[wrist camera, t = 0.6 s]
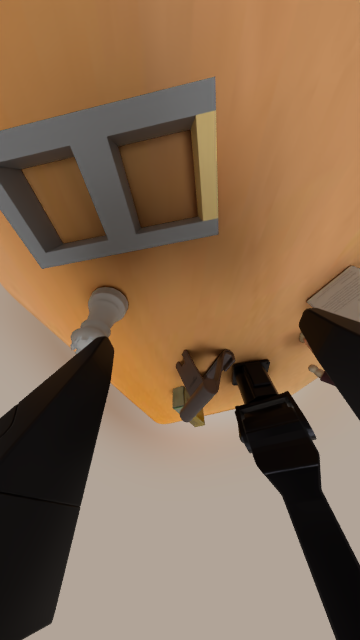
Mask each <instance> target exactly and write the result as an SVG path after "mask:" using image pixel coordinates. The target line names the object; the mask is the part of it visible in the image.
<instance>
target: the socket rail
mask: <svg viewBox="0 0 360 640" xmlns="http://www.w3.org/2000/svg"><path fill="white" fill-rule="evenodd" d="M190 129H191V139H192V151H193V163H194V174H195V186H196V198H197V209H198V217H193V218H188V219H183V220H178V221H173V222H168V223H163V224H159V225H154V226H149V227H144V228H141V227H140V223H139V220H138V216H137V213H136V209H135V205H134V202H133V198H132V195H131V191H130V188H129V184H128V180H127V177H126V173H125V170H124V166H123V162H122V159H121V155H120V152H119V148H118V146H122V145H126V144H131V143H135V142H139V141H143V140H148V139H152V138H156V137H160V136H165V135H169V134H173V133H177V132H182V131H186V130H190ZM71 157H75V159H76V162H77V164H78V167H79V169H80V171H81V174H82V176H83V179H84V181H85V184H86V186H87V189H88V191H89V194H90V196H91V199H92V201H93V204H94V206H95V209H96V211H97V214H98V216H99V218H100V221H101V223H102V226H103V228H104V231H105V233H106V235H104V236H99V237H95V238H90V239H85V240H80V241H75V242H70V243H65V244H63V243H62V241H61V239H60V238H59V236H58V234H57V232H56V231H55V229H54V227H53V225H52V224H51V222H50V220H49V218H48V217H47V215H46V213H45V211H44V210H43V208H42V206H41V204H40V203H39V201H38V199H37V197H36V195H35V194H34V192H33V190H32V188H31V187H30V185H29V183H28V181H27V180H26V178H25V176H24V174H23V173H22V171H21V169H24V168H29V167H33V166H37V165H41V164H46V163H50V162H54V161H58V160H63V159H67V158H71ZM0 210H1V211H2V213H3V214H4V216H5V217H6V219H7V220H8V221H9V223H10V224H11V226H12V227H13V228H14V230H15V231H16V233H17V234H18V236H19V237H20V238H21V240H22V241H23V243H24V244H25V246H26V247H27V248H28V250H29V251H30V253H31V254H32V255H33V257H34V258H35V260H36V261H37V263H38V264H39V265H40V267H41V268H42V269H44V268H49V267H54V266H59V265H64V264H69V263H75V262H80V261H85V260H90V259H95V258H100V257H105V256H110V255H116V254H121V253H126V252H131V251H136V250H141V249H146V248H152V247H157V246H162V245H167V244H172V243H177V242H182V241H187V240H193V239H198V238H203V237H208V236H213V235H218V187H217V140H216V92H215V77H212V78H208V79H204V80H200V81H196V82H192V83H188V84H184V85H180V86H176V87H172V88H168V89H164V90H160V91H156V92H152V93H148V94H144V95H140V96H136V97H132V98H128V99H124V100H120V101H117V102H113V103H109V104H105V105H101V106H97V107H93V108H89V109H85V110H81V111H77V112H73V113H69V114H65V115H61V116H57V117H53V118H49V119H45V120H41V121H37V122H33V123H29V124H25V125H21V126H17V127H13V128H9V129H5V130H1V131H0Z"/></svg>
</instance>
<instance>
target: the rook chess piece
mask: <svg viewBox="0 0 360 640" xmlns="http://www.w3.org/2000/svg"><path fill="white" fill-rule="evenodd" d="M88 307H89V316H88V319H87V320H85V321H84V322H83V323H82V324H81V328H80V329H77V330H75V331H74V332H72V335H71V340H72V344H71V350H75V349H77V350H76V352H75V354H77V353H79V352H80V351H81V350H82V349H83V348H85V347H86V346H87V345H88V344H89V343H91V342H92V341H93V340H94V339H95V338H97V337H100V336H107V337H109V336H110V334H111V333H110V328H111V327H112V325H113V324H114V323H115V322H117V321H119V320H120V319H122V318H123V317H124V315H125V313H126V311H127V309H128V302H127V299H126V297H125V296H124V295H123V294H122V293H121V292H120V291H118V290H116V289H114V288H109V287H102V288H97V289H96V290H95V291H94V292H92V295H91V296H90V299H89V301H88Z"/></svg>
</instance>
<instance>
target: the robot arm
mask: <svg viewBox="0 0 360 640" xmlns="http://www.w3.org/2000/svg"><path fill="white" fill-rule="evenodd" d="M299 328H300V330H301V332H302V334H303V335H304V337H305V339H306V341H307V343H308V345H309V346H310V348H311V350H312V352H313V354H314V355H315V357H316V358H317V360H318V361H319V363H320V364H321V366H322V367H323V369H324V370H325V372H326V373H327V374H328V376H329V377H330V379H331V380H332V382H333V383H334V384H335V386H336V387H337V389H338V390H339V392H340V393H341V394H342V396H343V397H344V399H345V400H346V402H347V403H348V404H349V406H350V407H351V409H352V410H353V412H354V413H355V414H356V416H357V417H358V419H359V420H360V322H358V321H355V320H352V319H349V318H346V317H343V316H340V315H337V314H334V313H331V312H328V311H325V310H322V309H319V308H309V309H306V310H305V311H304V312H303V314H302V317H301V319H300V322H299ZM113 358H114V348H113V346H112V344H111V342H110V340H109V339H108V337H107V336H100V337H97V338H95V339H94V340H93V341H92V342H91V343H89V344H88V345H87V346H86V347H85V348H83V349H82V350H81V351H80V352H79V353H77V354H76V355H75V356H74V357H73V358H72V359H70V360H69V361H68V362H67V363H66V364H65V365H63V366H62V367H61V368H60V369H58V370H57V371H56V372H55V373H54V374H53V375H51V376H50V377H49V378H48V379H46V380H45V381H44V382H43V383H42V384H41V385H39V386H38V387H37V388H36V389H35V390H33V391H32V392H31V393H30V394H29V395H28V396H26V397H25V398H24V399H23V400H22V401H20V402H19V404H17V405H16V406H14V407H13V408H12V409H11V410H10V411H8V412H7V413H6V414H5V415H4V416H2V417H1V418H0V640H22V639H24V638H26V637H28V636H29V635H31V634H33V633H35V632H37V631H39V630H40V629H42V628H44V627H46V626H48V625H49V624H51V623H52V620H53V617H54V613H55V610H56V606H57V602H58V597H59V593H60V589H61V585H62V581H63V577H64V573H65V568H66V564H67V560H68V556H69V552H70V548H71V544H72V540H73V536H74V531H75V527H76V523H77V519H78V515H79V511H80V506H81V502H82V498H83V494H84V489H85V485H86V481H87V477H88V473H89V469H90V465H91V461H92V456H93V452H94V448H95V444H96V440H97V436H98V432H99V427H100V423H101V419H102V415H103V411H104V407H105V403H106V398H107V395H108V390H109V386H110V381H111V374H112V366H113ZM269 365H270V362H269V360H262V361H255V362H248V363H241V364H235V365H233V373H232V384H233V385H238V387H239V390H240V393H241V395H242V398H243V401H244V405H241V406H235V408H236V411H235V414H236V418H237V421H238V428H239V437H240V440H241V442H243V443H244V444H245V446H246V447H247V449H248V451H249V453H252V454H253V457H254V460H255V462H256V465H257V466H258V468H259V469H260V470H261V471H262V473H263V474H264V475H265V476H266V477H267V478H268V479H269V481H270V482H271V483H272V484H273V485H274V487H275V488H276V489H277V490H278V491H279V492H280V494H281V495H282V497H283V500H284V502H285V505H286V507H287V510H288V513H289V515H290V518H291V521H292V523H293V526H294V528H295V531H296V534H297V537H298V539H299V542H300V544H301V547H302V550H303V553H304V555H305V558H306V561H307V563H308V566H309V568H310V571H311V574H312V577H313V579H314V582H315V585H316V587H317V590H318V592H319V595H320V598H321V601H322V603H323V606H324V608H325V611H326V614H327V617H328V619H329V622H330V625H331V627H332V630H333V632H334V635H335V638H336V640H360V565H359V563H358V561H357V559H356V557H355V555H354V553H353V551H352V549H351V547H350V545H349V543H348V541H347V539H346V537H345V535H344V533H343V531H342V529H341V528H340V525H339V523H338V521H337V520H336V517H335V515H334V513H333V511H332V510H331V508H330V506H329V504H328V502H327V500H326V498H325V496H324V494H323V492H322V489H321V475H320V457H319V452H318V450H317V449H316V447H315V445H314V443H313V441H312V440H316V436H315V434H314V432H313V430H312V428H311V427H310V425H309V423H308V421H307V419H306V418H305V416H304V415H303V413H302V412H301V410H300V409H299V407H298V405H297V404H296V402H295V401H294V399H293V398H292V396H291V395H290V393H289V392H288V391H286V392H285V393H282V394H278V392H277V390H276V388H275V386H274V384H273V383H272V381H271V379H270V377H269V375H268V373H267V372H268V368H269Z"/></svg>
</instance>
